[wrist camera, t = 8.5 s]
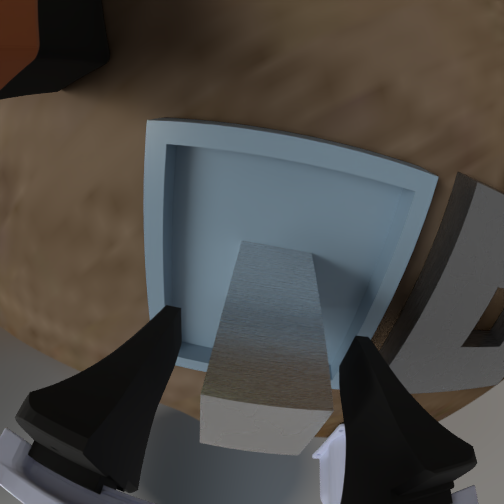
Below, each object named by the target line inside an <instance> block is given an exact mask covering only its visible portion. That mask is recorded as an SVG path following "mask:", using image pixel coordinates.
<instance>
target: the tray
mask: <svg viewBox="0 0 504 504" xmlns="http://www.w3.org/2000/svg"><path fill="white" fill-rule="evenodd" d="M437 180H438V176H436V175H434V174H433V173H431V172H429V171H427V170H425V169H423V168H422V167H419V166H416V165H413V164H411V163H408V162H404V161H401V160H398V159H395V158H392V157H389V156H385V155H382V154H379V153H375V152H372V151H368V150H365V149H361V148H357V147H353V146H350V145H346V144H342V143H337V142H333V141H329V140H325V139H320V138H316V137H311V136H306V135H301V134H296V133H291V132H286V131H280V130H274V129H268V128H262V127H255V126H248V125H241V124H233V123H225V122H216V121H206V120H195V119H181V118H158V119H151V120H147V128H146V143H145V163H144V244H145V265H146V281H147V294H148V305H149V315H150V320H151V319H152V318H153V317H154V316H155V315H156V314H157V313H158V312H159V311H160V310H161V309H162V308H163V307H164V306H166V305H170V306H174V307H179V308H181V330H182V343H181V347H180V350H179V354H178V357H177V361H176V364H175V365H177V366H181V367H185V368H190V369H194V370H199V371H204V372H207V368H208V364H209V361H210V357H211V353H212V349H213V345H214V342H215V338H216V334H217V330H218V327H219V323H220V319H221V315H222V312H223V308H224V304H225V300H226V297H227V293H228V289H229V286H230V282H231V278H232V275H233V271H234V267H235V264H236V260H237V256H238V253H239V249H240V245H241V242H242V241H247V242H253V243H259V244H264V245H270V246H276V247H281V248H287V249H293V250H298V251H304V252H309V253H312V258H313V264H314V269H315V275H316V281H317V287H318V293H319V299H320V306H321V312H322V319H323V326H324V333H325V340H326V348H327V356H328V364H329V372H330V381H331V389H339V365H340V364H341V362H342V360H343V358H344V356H345V354H346V353H347V351H348V349H349V347H350V345H351V343H352V341H353V339H354V337H355V335H356V336H366V337H369V338H370V340H371V338H372V336H373V335H374V333H375V331H376V329H377V327H378V325H379V323H380V321H381V320H382V318H383V316H384V314H385V312H386V310H387V308H388V306H389V304H390V302H391V300H392V297H393V295H394V293H395V291H396V289H397V287H398V285H399V282H400V280H401V278H402V276H403V273H404V271H405V269H406V267H407V264H408V262H409V259H410V257H411V255H412V252H413V250H414V247H415V245H416V242H417V240H418V237H419V234H420V232H421V229H422V226H423V223H424V221H425V218H426V215H427V212H428V209H429V206H430V203H431V200H432V197H433V194H434V190H435V187H436V184H437Z"/></svg>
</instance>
